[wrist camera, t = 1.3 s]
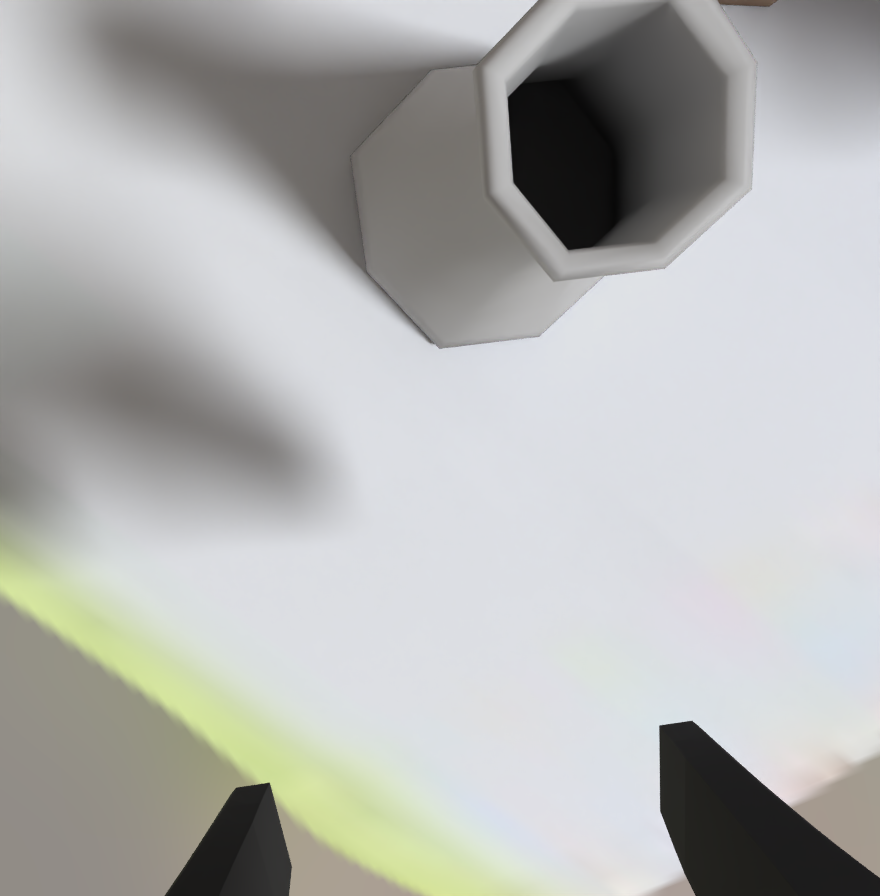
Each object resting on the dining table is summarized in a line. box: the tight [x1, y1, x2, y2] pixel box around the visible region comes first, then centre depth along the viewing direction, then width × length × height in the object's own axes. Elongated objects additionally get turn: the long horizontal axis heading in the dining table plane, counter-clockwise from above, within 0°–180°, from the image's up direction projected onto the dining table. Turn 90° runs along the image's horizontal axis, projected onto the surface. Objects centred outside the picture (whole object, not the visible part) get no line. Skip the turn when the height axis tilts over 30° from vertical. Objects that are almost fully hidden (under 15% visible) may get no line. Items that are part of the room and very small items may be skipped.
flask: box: [350, 0, 757, 349], centre depth 11 cm, size 7×7×10 cm
